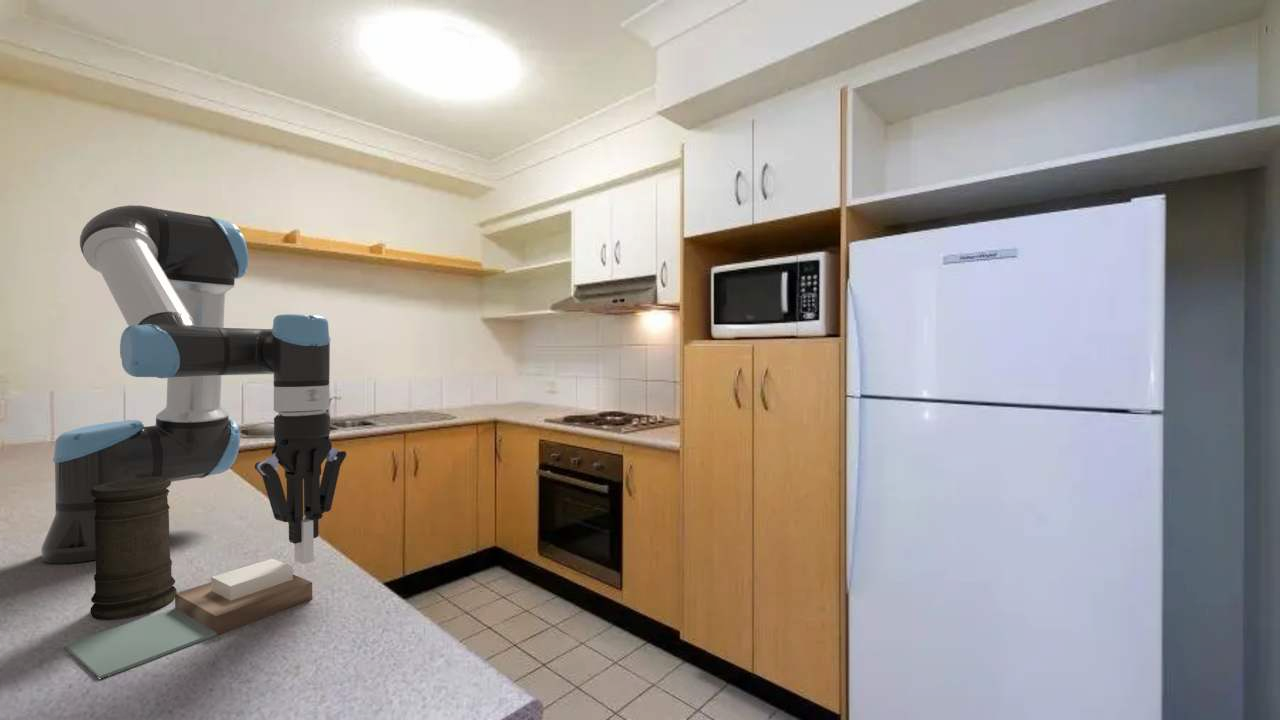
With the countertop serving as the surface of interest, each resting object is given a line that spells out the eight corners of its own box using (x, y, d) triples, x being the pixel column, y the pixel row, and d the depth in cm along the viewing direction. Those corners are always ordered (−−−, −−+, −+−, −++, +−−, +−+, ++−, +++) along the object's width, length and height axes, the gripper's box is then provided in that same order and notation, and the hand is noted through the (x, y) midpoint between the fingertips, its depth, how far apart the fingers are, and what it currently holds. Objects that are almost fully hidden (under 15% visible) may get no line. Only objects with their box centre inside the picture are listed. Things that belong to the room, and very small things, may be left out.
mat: (64, 647, 67) (64, 644, 67) (175, 610, 76) (175, 607, 76) (99, 679, 60) (99, 676, 60) (216, 635, 70) (216, 632, 70)
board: (175, 610, 76) (174, 593, 76) (268, 580, 87) (268, 564, 87) (216, 635, 70) (216, 616, 70) (312, 598, 80) (312, 582, 80)
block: (211, 590, 77) (211, 576, 77) (272, 571, 84) (272, 558, 84) (230, 600, 74) (230, 586, 74) (292, 579, 81) (292, 566, 81)
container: (190, 596, 81) (188, 477, 80) (115, 625, 72) (113, 492, 72) (151, 588, 84) (149, 473, 83) (75, 615, 75) (73, 487, 75)
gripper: (269, 418, 77) (271, 581, 78) (356, 410, 89) (357, 552, 89) (243, 415, 81) (245, 570, 81) (330, 407, 92) (331, 544, 93)
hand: (304, 560), depth 85 cm, fingers closed
